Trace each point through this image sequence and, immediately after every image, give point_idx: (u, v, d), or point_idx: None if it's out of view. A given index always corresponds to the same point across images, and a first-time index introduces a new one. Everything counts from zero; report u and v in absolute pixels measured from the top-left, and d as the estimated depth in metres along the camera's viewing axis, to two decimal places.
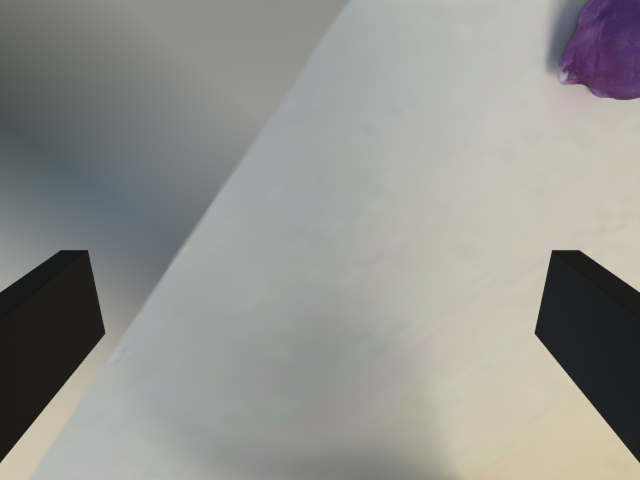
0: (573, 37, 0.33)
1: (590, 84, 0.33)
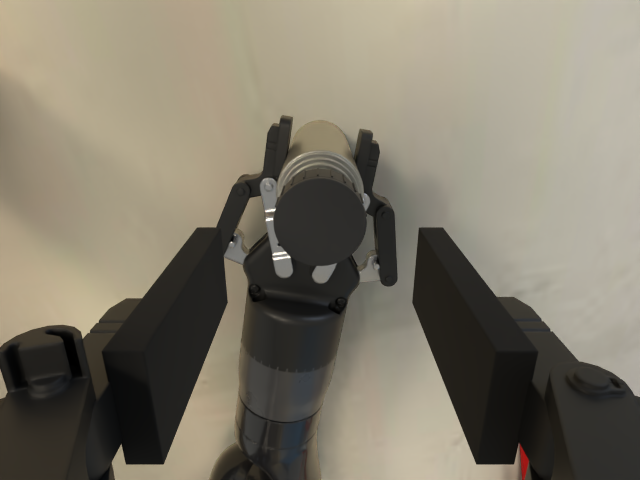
0: None
1: None
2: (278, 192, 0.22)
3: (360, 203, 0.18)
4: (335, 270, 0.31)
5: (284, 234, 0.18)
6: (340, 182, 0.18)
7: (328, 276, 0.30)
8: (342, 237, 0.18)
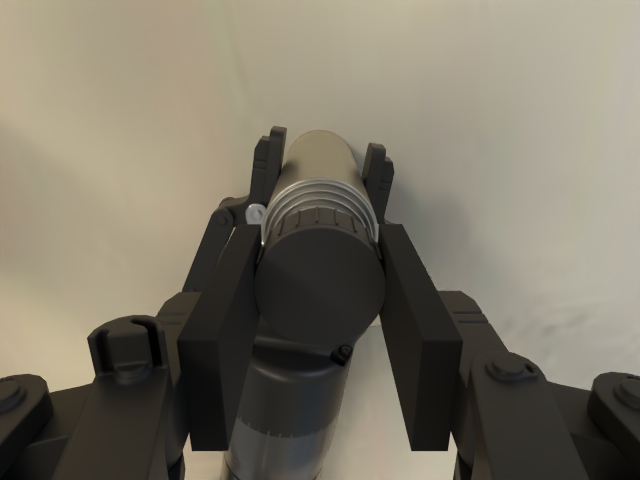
0: None
1: None
2: (264, 232, 0.17)
3: (378, 262, 0.12)
4: None
5: (269, 304, 0.13)
6: (349, 232, 0.12)
7: None
8: (351, 308, 0.13)
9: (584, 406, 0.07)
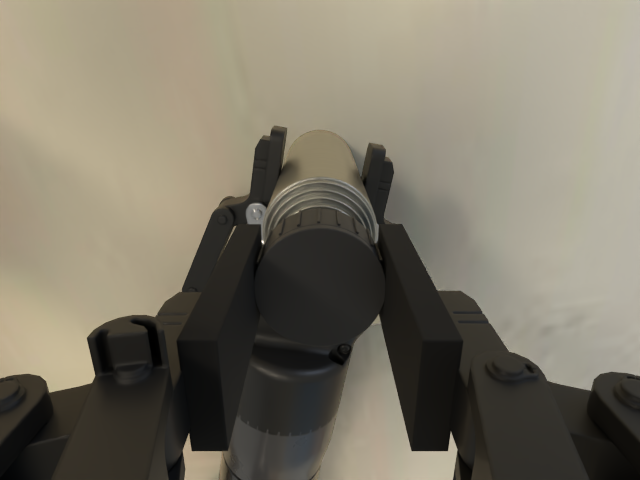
0: None
1: None
2: (265, 231, 0.17)
3: (264, 257, 0.12)
4: None
5: (356, 323, 0.13)
6: None
7: None
8: (322, 255, 0.12)
9: (584, 406, 0.07)
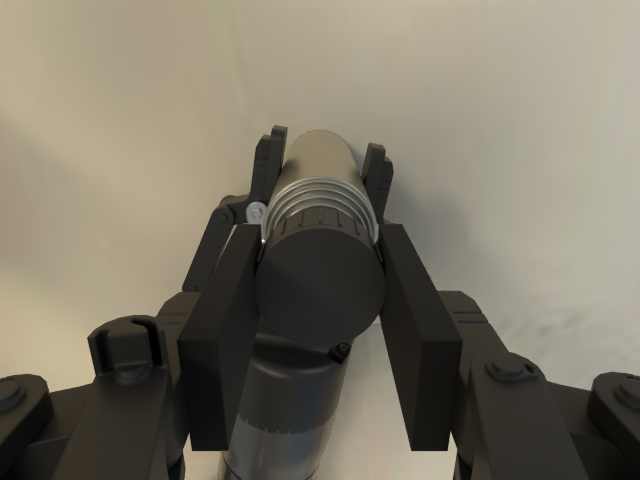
0: None
1: None
2: (265, 230, 0.17)
3: (314, 344, 0.13)
4: None
5: (335, 243, 0.12)
6: None
7: None
8: (285, 305, 0.13)
9: (584, 406, 0.07)
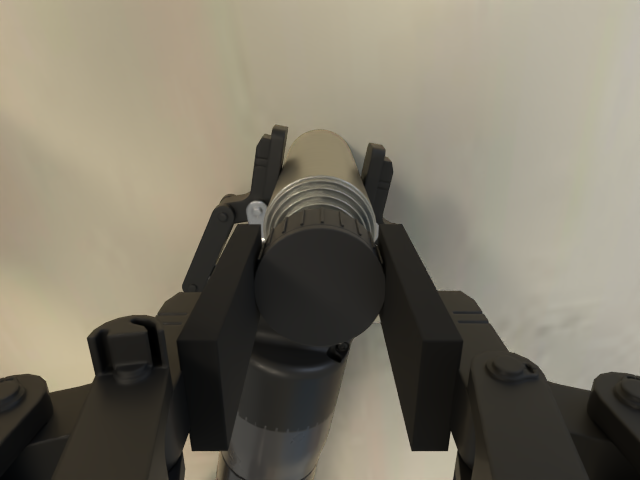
0: None
1: None
2: (266, 228, 0.17)
3: (380, 266, 0.12)
4: None
5: (268, 301, 0.13)
6: (354, 235, 0.12)
7: None
8: (350, 310, 0.13)
9: (584, 406, 0.07)
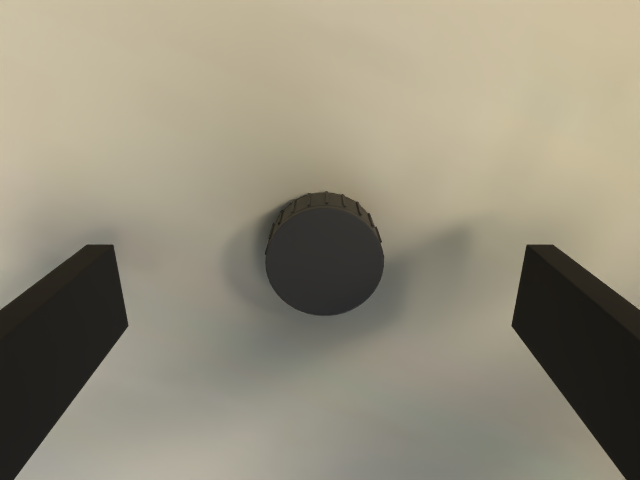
0: None
1: None
2: None
3: (378, 243, 0.14)
4: None
5: (278, 274, 0.14)
6: (355, 215, 0.14)
7: None
8: (351, 283, 0.15)
9: None
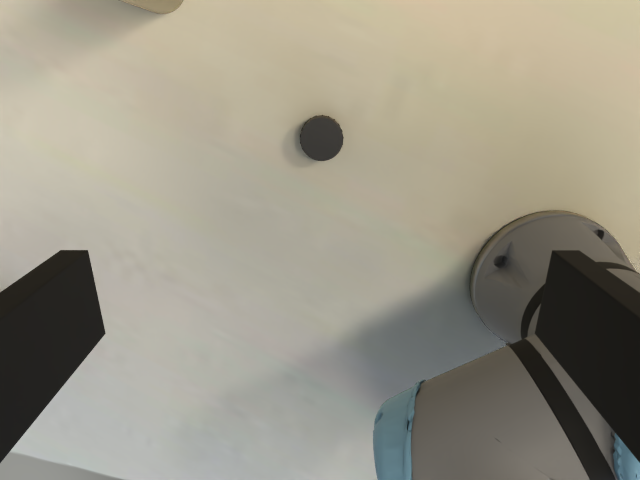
0: None
1: None
2: None
3: (340, 131, 0.39)
4: None
5: (305, 143, 0.40)
6: (332, 120, 0.39)
7: None
8: (331, 147, 0.40)
9: None
